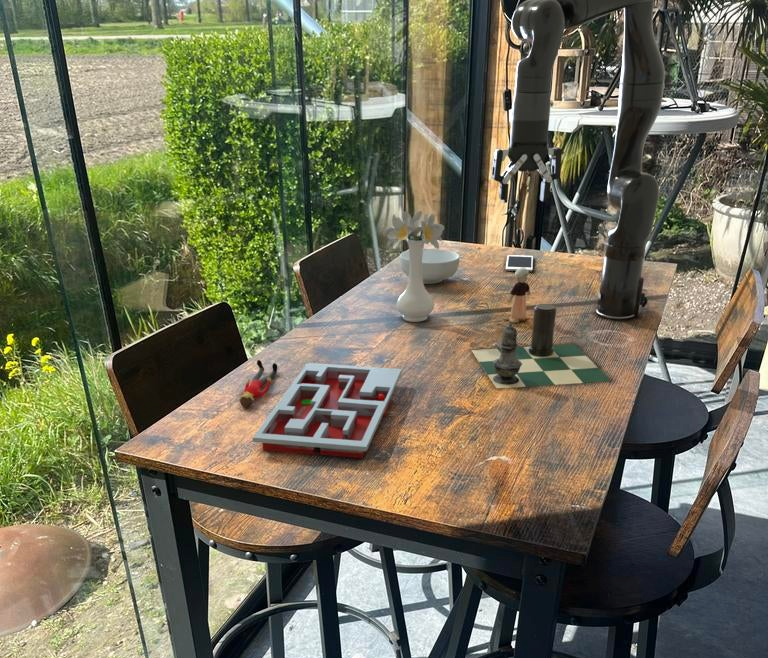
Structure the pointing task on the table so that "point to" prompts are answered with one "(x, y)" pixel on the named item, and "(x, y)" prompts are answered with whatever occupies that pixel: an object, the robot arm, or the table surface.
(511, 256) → the cell phone
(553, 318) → the dark grey cylinder
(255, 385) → the person figure
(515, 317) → the grandmother figurine
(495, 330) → the table surface
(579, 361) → the chess mat
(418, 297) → the flower vase
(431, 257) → the cereal bowl
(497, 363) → the grey tall turned piece
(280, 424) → the maze game
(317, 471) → the table surface
